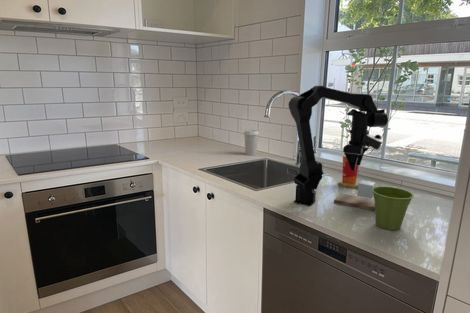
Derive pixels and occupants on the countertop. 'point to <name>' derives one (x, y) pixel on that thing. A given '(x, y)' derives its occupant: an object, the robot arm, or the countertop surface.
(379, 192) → the plant pot
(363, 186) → the white cube with hole
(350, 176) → the paper cup
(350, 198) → the cord clamp board
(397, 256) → the countertop surface
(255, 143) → the coffee cup
